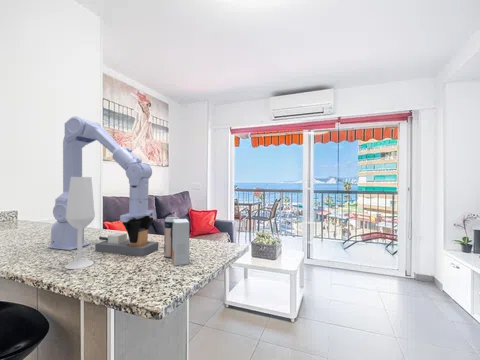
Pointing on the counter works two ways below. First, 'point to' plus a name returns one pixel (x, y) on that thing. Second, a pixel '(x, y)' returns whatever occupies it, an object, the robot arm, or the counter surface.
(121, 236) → the socket strip
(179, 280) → the counter surface
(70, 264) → the champagne flute
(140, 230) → the orange plug
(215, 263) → the counter surface
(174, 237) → the skincare box
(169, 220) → the beer can
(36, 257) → the counter surface
